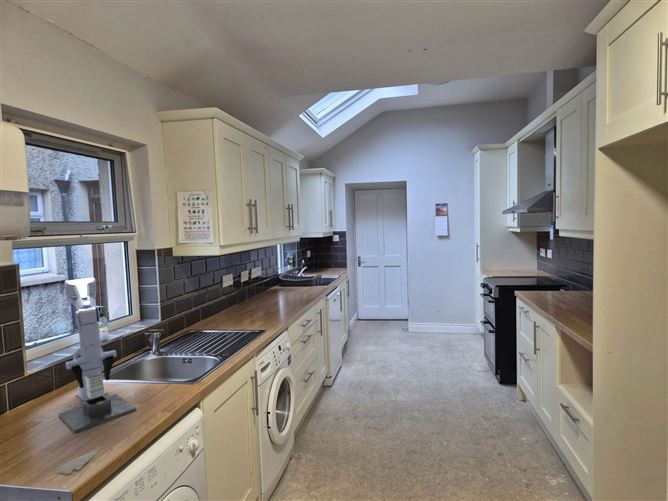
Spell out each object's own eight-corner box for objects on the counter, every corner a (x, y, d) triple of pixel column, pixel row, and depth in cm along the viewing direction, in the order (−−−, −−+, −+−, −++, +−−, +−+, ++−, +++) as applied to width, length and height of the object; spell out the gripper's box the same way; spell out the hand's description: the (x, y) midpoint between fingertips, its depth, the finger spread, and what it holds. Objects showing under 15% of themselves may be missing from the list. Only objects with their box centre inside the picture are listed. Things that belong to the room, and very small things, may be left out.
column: (86, 396, 132) (84, 375, 132) (100, 391, 135) (98, 371, 135) (91, 399, 130) (88, 377, 129) (104, 395, 133) (102, 373, 132)
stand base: (58, 416, 132) (57, 402, 132) (116, 396, 146) (115, 383, 145) (74, 433, 120) (73, 417, 120) (136, 410, 134) (134, 396, 133)
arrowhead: (50, 466, 101) (84, 448, 110) (50, 474, 101) (84, 455, 110) (71, 470, 99) (104, 451, 109) (71, 477, 99) (104, 458, 109)
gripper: (68, 351, 123) (72, 394, 124) (118, 339, 134) (122, 378, 135) (62, 348, 128) (66, 388, 129) (110, 336, 139) (114, 374, 140)
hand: (94, 383), depth 132 cm, fingers open, 7 cm apart
